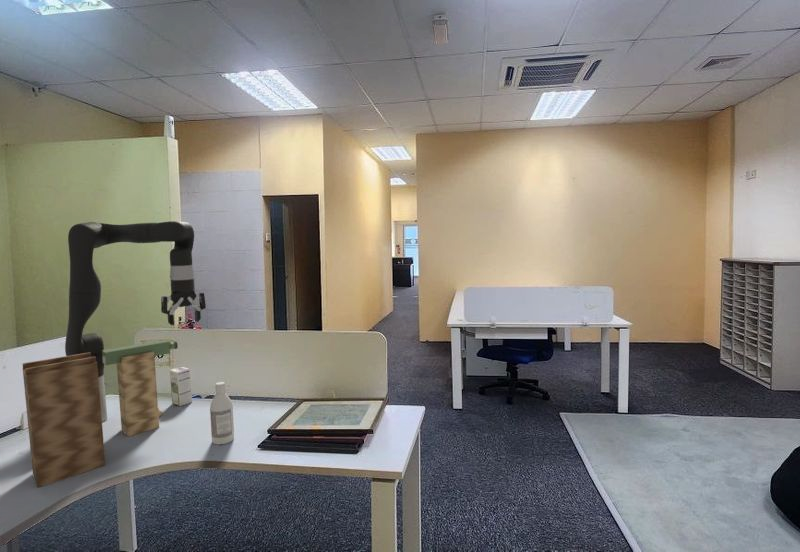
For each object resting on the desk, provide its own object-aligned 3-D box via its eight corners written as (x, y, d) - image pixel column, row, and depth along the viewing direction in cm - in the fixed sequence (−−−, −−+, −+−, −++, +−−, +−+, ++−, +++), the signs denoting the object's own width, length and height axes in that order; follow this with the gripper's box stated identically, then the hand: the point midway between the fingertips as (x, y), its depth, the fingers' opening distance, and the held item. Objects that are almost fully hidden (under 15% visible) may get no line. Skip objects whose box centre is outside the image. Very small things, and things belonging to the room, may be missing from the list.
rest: (127, 436, 151) (121, 357, 148) (121, 429, 156) (115, 353, 154) (159, 427, 158) (154, 352, 155) (152, 421, 163) (147, 348, 161)
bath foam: (216, 436, 150) (213, 379, 149) (236, 435, 151) (234, 379, 149) (208, 445, 144) (205, 387, 142) (229, 445, 144) (226, 386, 142)
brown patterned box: (37, 487, 121) (25, 370, 117) (32, 474, 127) (22, 362, 124) (105, 465, 132) (96, 357, 129) (97, 454, 139) (89, 351, 136)
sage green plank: (105, 365, 146) (105, 352, 146) (102, 362, 149) (101, 350, 149) (178, 351, 163) (177, 340, 162) (174, 349, 166) (173, 338, 165)
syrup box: (192, 402, 182) (190, 368, 180) (179, 406, 177) (177, 372, 175) (184, 399, 185) (182, 366, 183) (171, 404, 180) (169, 369, 178)
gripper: (163, 280, 146) (167, 327, 148) (206, 277, 156) (209, 321, 158) (156, 279, 151) (159, 324, 153) (198, 275, 161) (201, 318, 163)
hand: (185, 323), depth 155 cm, fingers open, 8 cm apart
